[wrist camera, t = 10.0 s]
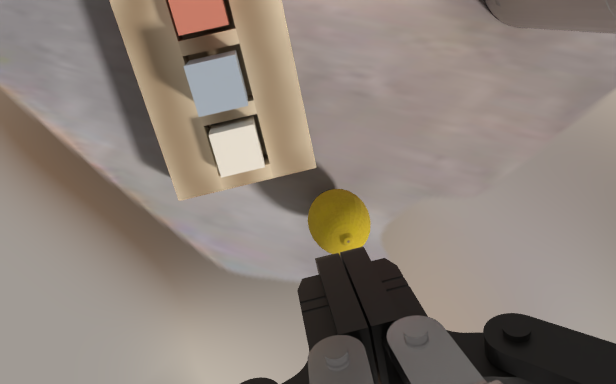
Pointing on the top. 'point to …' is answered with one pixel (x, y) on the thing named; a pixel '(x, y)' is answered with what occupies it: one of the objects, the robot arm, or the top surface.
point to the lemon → (339, 221)
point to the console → (195, 130)
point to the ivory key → (236, 146)
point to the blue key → (216, 83)
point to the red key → (198, 15)
